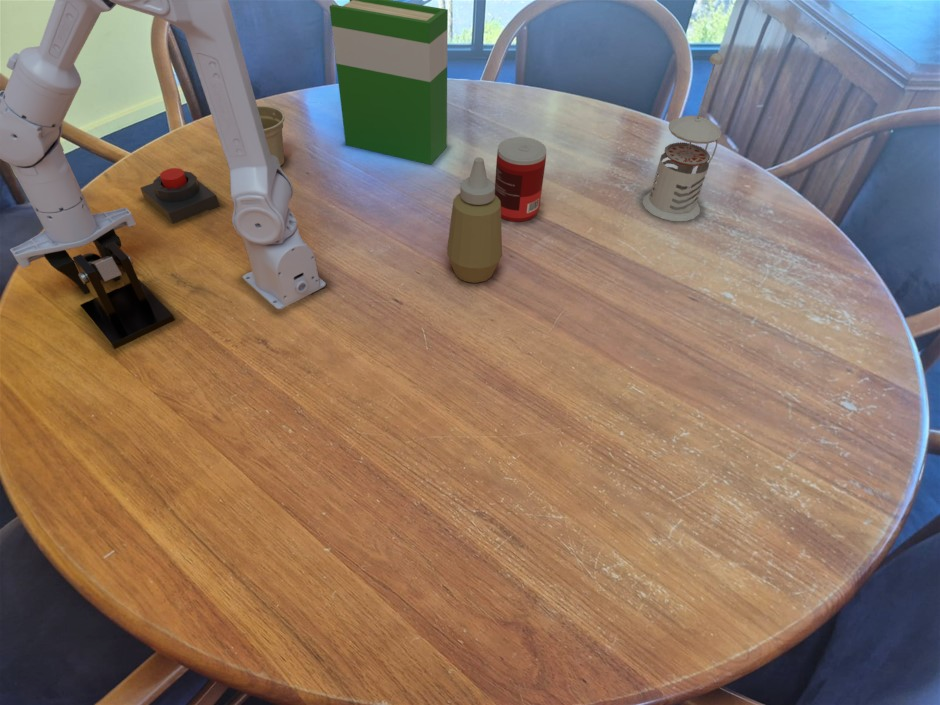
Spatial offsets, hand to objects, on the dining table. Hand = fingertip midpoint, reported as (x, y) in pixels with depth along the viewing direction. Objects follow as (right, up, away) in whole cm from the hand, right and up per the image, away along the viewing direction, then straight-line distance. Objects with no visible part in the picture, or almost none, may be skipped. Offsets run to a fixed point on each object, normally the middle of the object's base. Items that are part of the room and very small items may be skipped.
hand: (100, 285), depth 87 cm
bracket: (+6, -5, -4) cm, 9 cm away
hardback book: (+38, +30, +31) cm, 57 cm away
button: (+5, +18, +12) cm, 22 cm away
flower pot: (+15, +24, +25) cm, 38 cm away
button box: (+5, +15, +15) cm, 22 cm away
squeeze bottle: (+52, +2, +5) cm, 53 cm away
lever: (+4, 0, -6) cm, 7 cm away
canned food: (+60, +14, +17) cm, 64 cm away
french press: (+87, +16, +20) cm, 91 cm away
